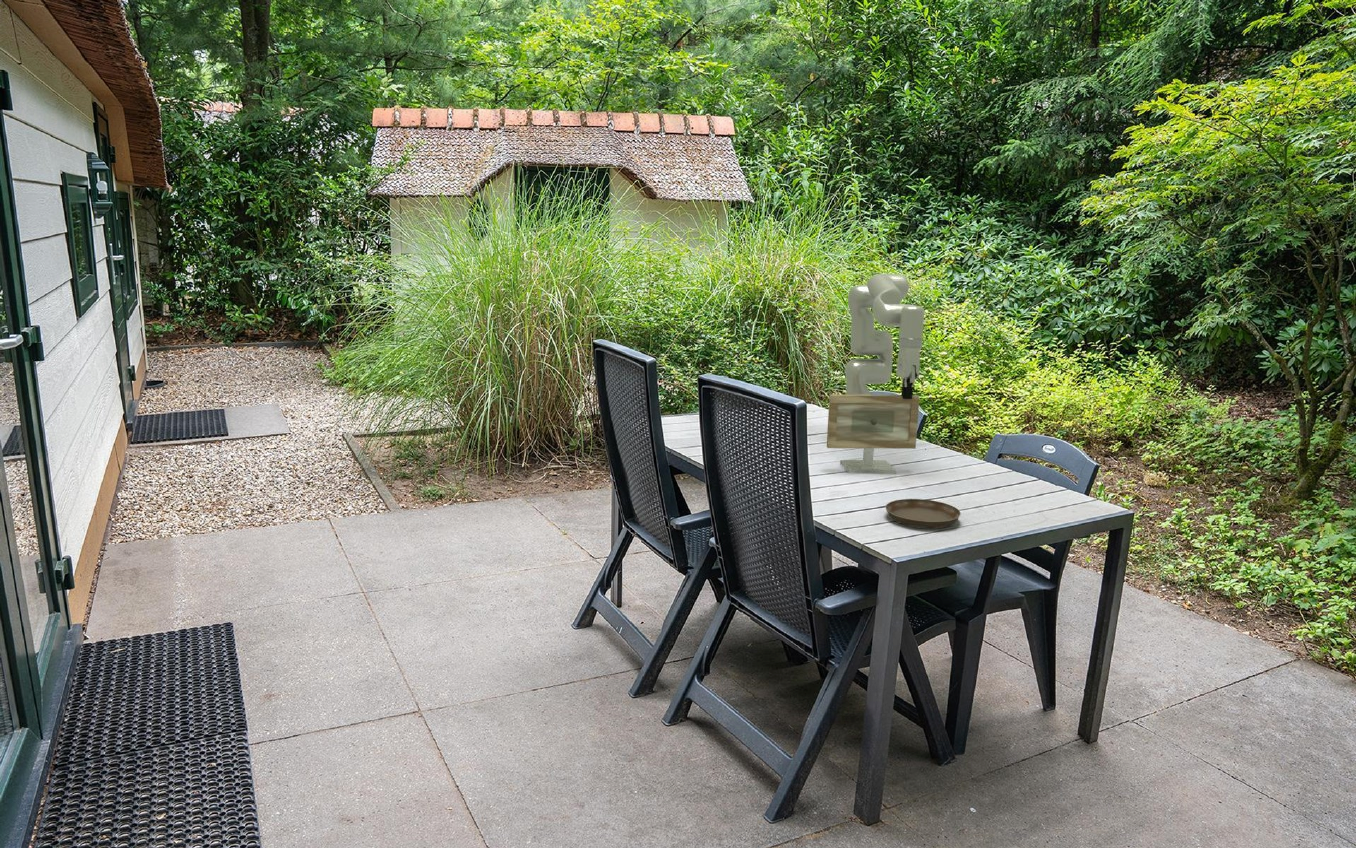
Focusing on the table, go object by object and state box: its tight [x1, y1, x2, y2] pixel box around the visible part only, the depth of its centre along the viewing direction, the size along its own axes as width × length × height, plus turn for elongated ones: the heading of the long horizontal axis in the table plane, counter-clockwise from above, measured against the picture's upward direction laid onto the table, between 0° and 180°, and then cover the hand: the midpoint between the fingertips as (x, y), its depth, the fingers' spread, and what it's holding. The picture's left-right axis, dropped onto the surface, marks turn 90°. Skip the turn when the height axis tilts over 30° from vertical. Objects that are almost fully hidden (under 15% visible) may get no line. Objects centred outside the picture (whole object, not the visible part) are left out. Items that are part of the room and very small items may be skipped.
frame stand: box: [839, 448, 897, 475], centre depth 317 cm, size 12×16×18 cm
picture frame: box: [826, 393, 921, 450], centre depth 313 cm, size 3×30×18 cm, turn 94°
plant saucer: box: [885, 498, 962, 530], centre depth 265 cm, size 21×21×3 cm
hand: (906, 398), depth 312 cm, fingers closed
